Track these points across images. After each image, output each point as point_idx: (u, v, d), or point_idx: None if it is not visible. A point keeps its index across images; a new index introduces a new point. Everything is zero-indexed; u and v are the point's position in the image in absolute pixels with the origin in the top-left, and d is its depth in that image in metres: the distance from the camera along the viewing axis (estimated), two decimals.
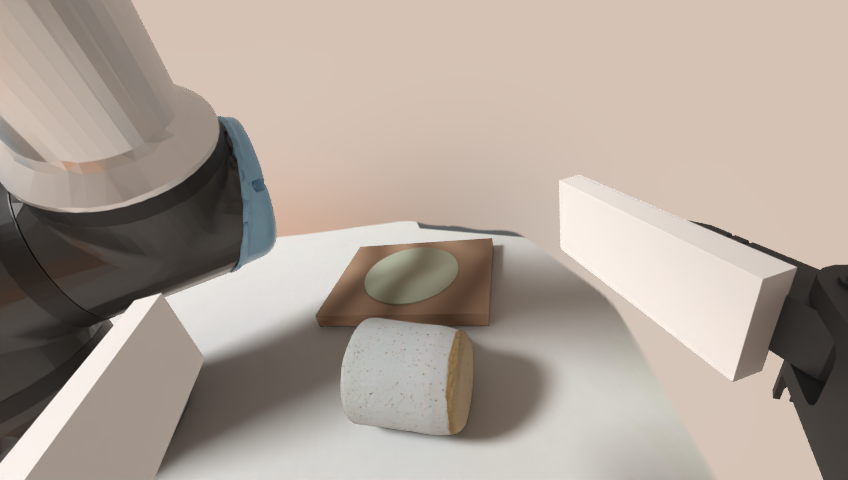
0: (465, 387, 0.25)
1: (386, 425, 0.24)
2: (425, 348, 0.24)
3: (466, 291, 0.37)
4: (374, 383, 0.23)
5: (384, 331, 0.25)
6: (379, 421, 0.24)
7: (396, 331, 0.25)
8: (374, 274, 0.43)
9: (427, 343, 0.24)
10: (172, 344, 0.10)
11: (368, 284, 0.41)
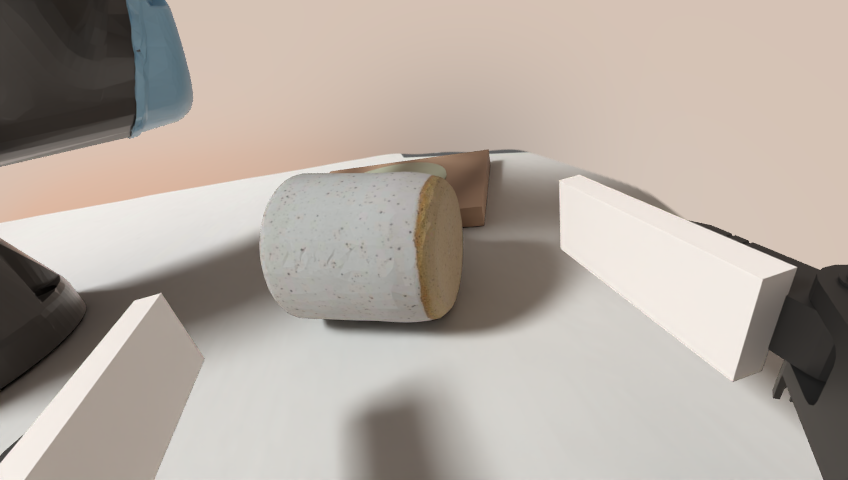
0: (448, 256, 0.17)
1: (329, 305, 0.16)
2: (386, 183, 0.16)
3: (455, 191, 0.29)
4: (307, 233, 0.15)
5: (330, 175, 0.17)
6: (318, 298, 0.16)
7: (347, 174, 0.17)
8: None
9: (389, 179, 0.16)
10: (172, 344, 0.10)
11: None
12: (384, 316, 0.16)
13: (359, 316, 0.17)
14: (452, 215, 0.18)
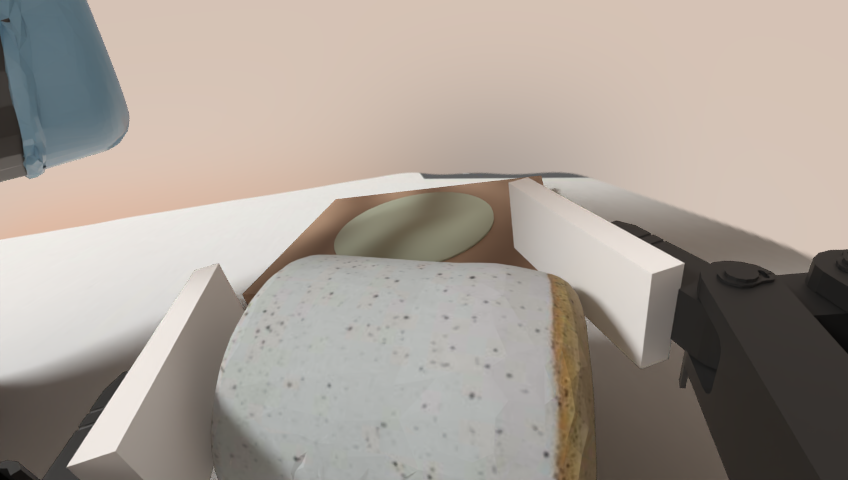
0: None
1: None
2: (471, 312, 0.08)
3: None
4: (308, 425, 0.07)
5: (350, 274, 0.09)
6: None
7: (382, 273, 0.09)
8: (352, 229, 0.26)
9: (475, 298, 0.08)
10: (229, 309, 0.11)
11: (340, 243, 0.24)
12: None
13: None
14: None
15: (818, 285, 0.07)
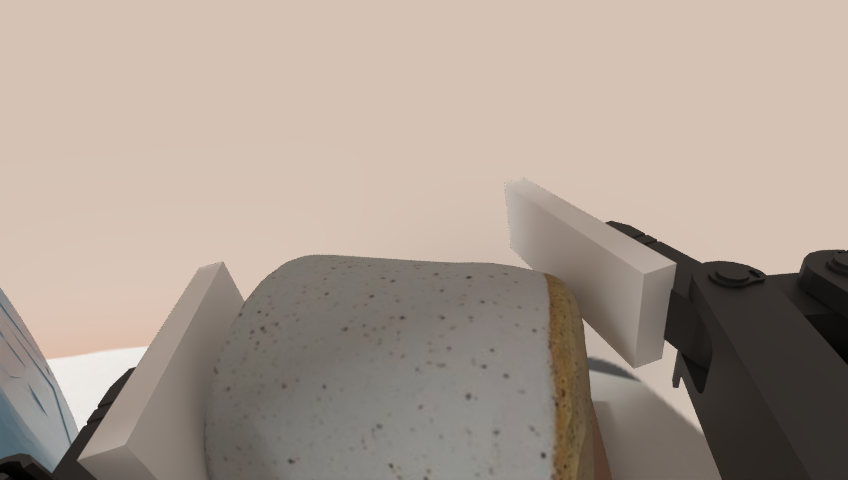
0: None
1: None
2: (467, 312, 0.07)
3: None
4: (303, 427, 0.07)
5: (345, 274, 0.09)
6: None
7: (378, 273, 0.09)
8: None
9: (471, 298, 0.08)
10: (234, 307, 0.12)
11: None
12: None
13: None
14: None
15: (809, 285, 0.07)
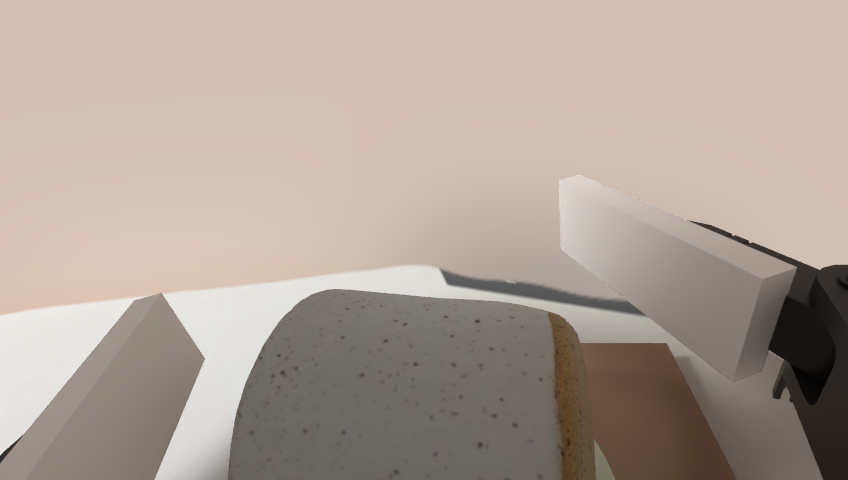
0: None
1: None
2: (477, 360, 0.08)
3: None
4: (324, 471, 0.08)
5: (359, 316, 0.10)
6: None
7: (391, 315, 0.10)
8: None
9: (481, 345, 0.08)
10: (172, 344, 0.10)
11: None
12: None
13: None
14: None
15: None
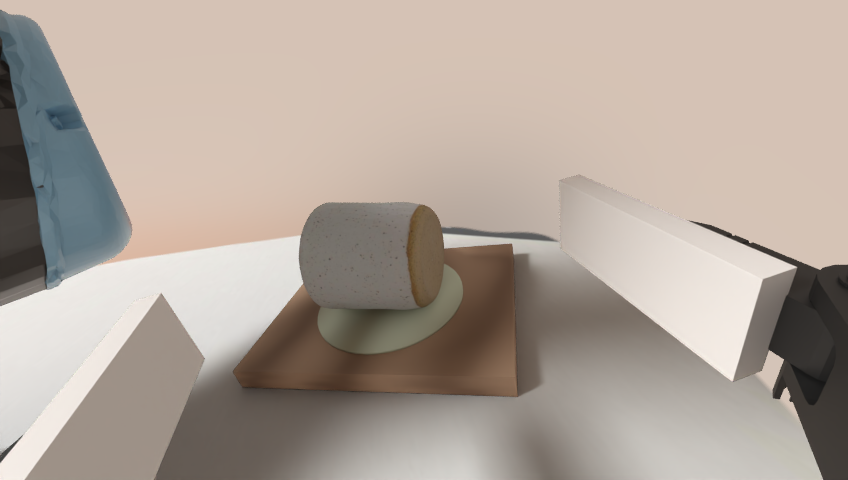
0: (432, 262, 0.24)
1: (348, 297, 0.23)
2: (387, 212, 0.23)
3: (477, 332, 0.22)
4: (333, 247, 0.22)
5: (346, 205, 0.24)
6: (340, 292, 0.23)
7: (359, 204, 0.24)
8: None
9: (389, 209, 0.23)
10: (172, 344, 0.10)
11: (323, 317, 0.27)
12: (386, 305, 0.23)
13: (369, 305, 0.24)
14: (434, 232, 0.25)
15: None
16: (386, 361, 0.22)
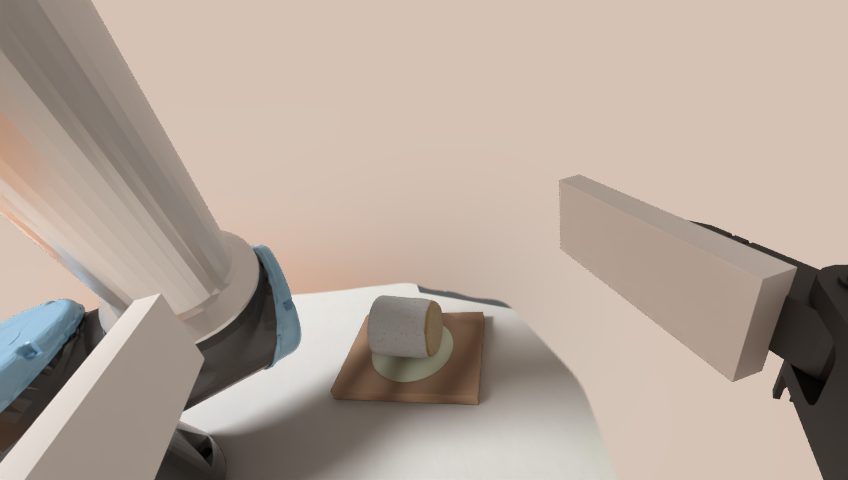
0: (436, 332, 0.45)
1: (392, 352, 0.44)
2: (413, 309, 0.44)
3: (459, 371, 0.44)
4: (386, 328, 0.43)
5: (390, 301, 0.45)
6: (388, 350, 0.44)
7: (397, 301, 0.45)
8: None
9: (414, 306, 0.44)
10: (172, 344, 0.10)
11: (375, 358, 0.48)
12: (412, 356, 0.44)
13: (403, 356, 0.45)
14: (438, 315, 0.46)
15: None
16: (413, 386, 0.43)
